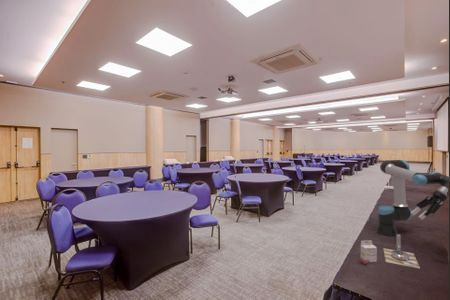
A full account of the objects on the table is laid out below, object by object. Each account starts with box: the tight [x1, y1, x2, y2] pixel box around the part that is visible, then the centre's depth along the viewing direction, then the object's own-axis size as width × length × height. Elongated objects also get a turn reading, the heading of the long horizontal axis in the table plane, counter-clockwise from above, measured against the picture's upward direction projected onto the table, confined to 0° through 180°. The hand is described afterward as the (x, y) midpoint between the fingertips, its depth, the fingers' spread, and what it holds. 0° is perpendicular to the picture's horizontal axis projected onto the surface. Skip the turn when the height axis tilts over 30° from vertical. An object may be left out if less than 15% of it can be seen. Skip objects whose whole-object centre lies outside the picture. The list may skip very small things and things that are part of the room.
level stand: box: [383, 247, 421, 269], centre depth 161 cm, size 22×18×2 cm
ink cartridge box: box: [360, 239, 378, 265], centre depth 159 cm, size 9×5×15 cm, turn 92°
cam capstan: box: [391, 233, 409, 260], centre depth 161 cm, size 17×10×13 cm, turn 149°
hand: (416, 216), depth 165 cm, fingers open, 8 cm apart
